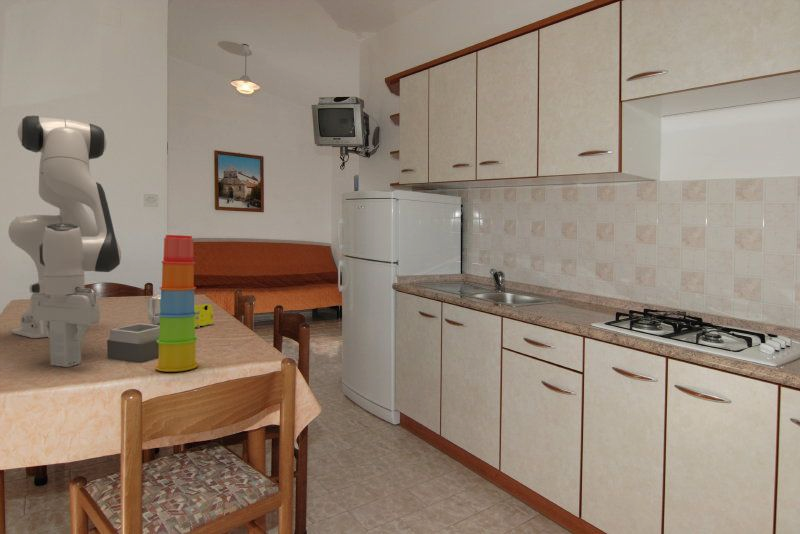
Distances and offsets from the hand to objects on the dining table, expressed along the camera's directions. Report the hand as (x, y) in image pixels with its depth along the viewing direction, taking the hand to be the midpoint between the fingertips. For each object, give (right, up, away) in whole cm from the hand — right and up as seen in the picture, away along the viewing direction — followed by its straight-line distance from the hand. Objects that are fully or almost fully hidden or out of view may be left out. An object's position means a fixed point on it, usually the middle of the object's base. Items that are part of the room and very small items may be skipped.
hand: (66, 339), depth 131 cm
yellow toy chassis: (+12, -3, +50) cm, 52 cm away
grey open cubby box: (+13, -6, +11) cm, 18 cm away
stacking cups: (+29, -8, 0) cm, 30 cm away
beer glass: (+14, -5, +23) cm, 28 cm away
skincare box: (-1, -7, +1) cm, 7 cm away
